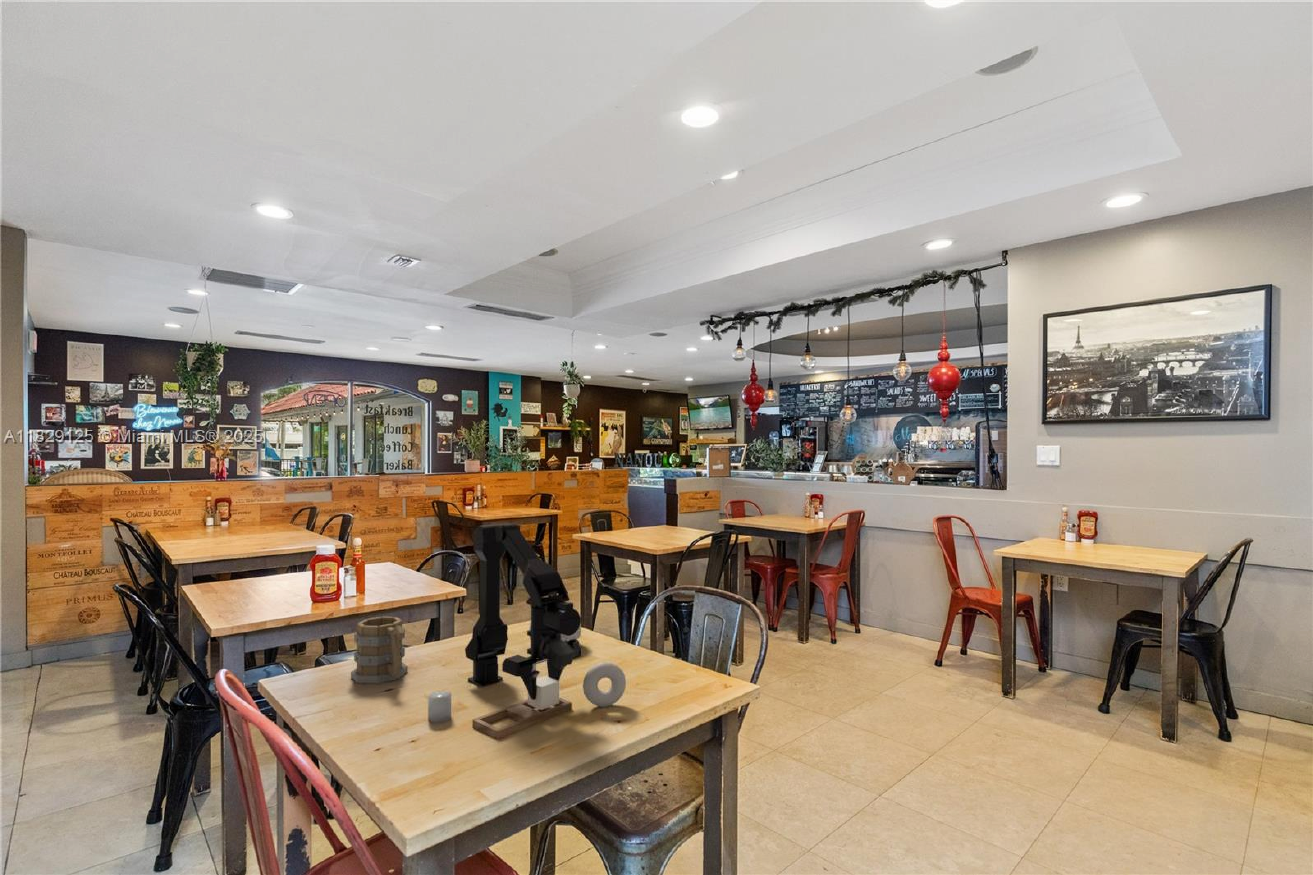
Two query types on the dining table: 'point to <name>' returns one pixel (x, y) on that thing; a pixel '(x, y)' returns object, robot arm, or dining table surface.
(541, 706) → the white rounded cube
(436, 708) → the salt cellar
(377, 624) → the tankard
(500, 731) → the walnut caddy
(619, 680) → the donut
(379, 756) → the dining table surface
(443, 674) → the dining table surface
